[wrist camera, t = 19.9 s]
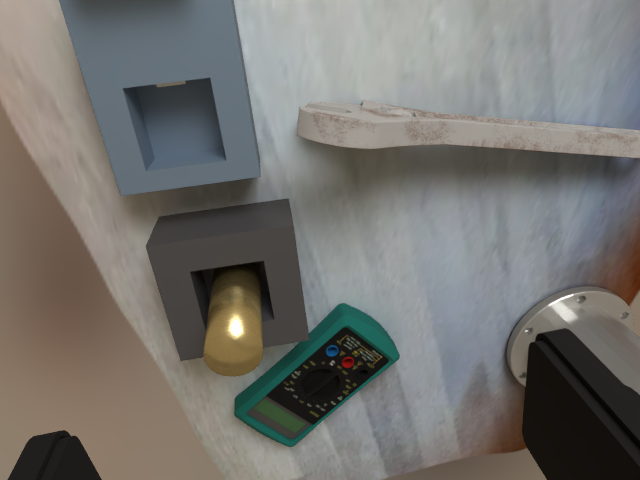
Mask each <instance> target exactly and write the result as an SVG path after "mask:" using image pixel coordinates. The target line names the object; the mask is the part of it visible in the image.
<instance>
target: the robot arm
mask: <svg viewBox="0 0 640 480" xmlns="http://www.w3.org/2000/svg"><path fill="white" fill-rule="evenodd" d="M633 329H634V319H633V315H632V312H631V310H630V308H629V306H628V305H627V304H626V303H625V301H623V300H622V299H621V298H620V297H618V296H617V295H616V294H614V293H612V292H611V291H609V290H607V289H603V288H599V287H589V286H584V287H576V288H571V289H567V290H564V291H561V292H559V293H556V294H554V295H552V296H549V297H548V298H546V299H545V300H543V301H541V302H540V303H538V304H537V305H536V306H534V307H533V308H532V309H531V310H530V311H528V312H527V313H526V315H525V316H524V317H523V318H522V319H521V320H520V321H519V323H518V324H517V326H516V327H515V329H514V330H513V332H512V335H511V337H510V339H509V342H508V347H507V362H508V366H509V369H510V370H511V372H512V373H513V375H514V376H515V378H516V379H517V380H518V381H519V383H520V384H522V385H523V386H524V387H525V399H524V412H523V425H522V434H523V438H524V441H525V444H526V446H527V448H528V450H529V451H530V453H531V454H532V456H533V458H534V459H535V461H536V462H537V464H538V466H539V467H540V469H541V471H542V472H543V474H544V475H545V477H546V478H547V480H640V337H639V336H638V335H636V334H635V333H634V332H633ZM8 480H102V479H101V478H100V476H99V474H98V472H97V471H96V469H95V467H94V465H93V463H92V462H91V460H90V458H89V456H88V454H87V453H86V451H85V449H84V447H83V445H82V444H81V442H80V440H79V439H78V437H76V436H70V434H69V433H68V432H67V431H65V430H63V431H57V432H53V433H48V434H43V435H38V436H33V437H32V438H31V439H30V440H29V441H28V442H27V444H26V445H25V448H24V449H23V451H22V453H21V455H20V457H19V459H18V461H17V463H16V465H15V467H14V469H13V471H12V473H11V474H10V476H9V478H8Z"/></svg>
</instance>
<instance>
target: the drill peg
mask: <svg viewBox="0 0 640 480" xmlns="http://www.w3.org/2000/svg"><path fill="white" fill-rule="evenodd" d="M262 357H263V341H262V315H261V290H260V267H259V263H258V261H257V262H251V263H244V264H237V265H231V266H224V267H217V268H214V274H213V282H212V290H211V298H210V306H209V314H208V322H207V330H206V338H205V346H204V360H205V363H206V364H207V366H208V367H209V368H210V369H211V370H213V371H214V372H216V373H218V374H220V375H224V376H240V375H244V374H247V373H249V372H251V371H252V370H254V369H255V368H256V367H257V366H258V365H259V364H260V362H261V360H262Z"/></svg>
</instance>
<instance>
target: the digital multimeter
mask: <svg viewBox="0 0 640 480" xmlns="http://www.w3.org/2000/svg"><path fill="white" fill-rule="evenodd" d="M338 331H339V332H338ZM322 345H323V346H322ZM321 346H322V347H321ZM314 352H315V353H314ZM313 353H314V354H313ZM399 357H400V355H399V353H398V351H397V348H396V346H395V344H394V342H393V341H392V339H391V338H390V336H389V335H388V333H387V332H386V331H385V330H384V328H383V327H382V326H381V325H380V324H379V323H378V322H377V321H375V320H374V319H373V318H372V317H370V316H369V315H367V314H365V313H363V312H362V311H360V310H358V309H356V308H353V307H351V306H349V305H347V304H344V303H343V304H339V305H338V306H337V307H336V308H335V309H334V310H333V311H332V312H331V313H330V314H329V315H328V316H327V317H326V318H325V319H324V320H323V321H322V322H321V323H320V324H319V325H318V326H317V327H316V328H315V329H314V330H313V331H312V332H311V333H309V340H306V341H301V342H300V343H299V344H298V345H297V346H296V347H295V348H294V349H293V350H291V351H290V352H289V353H288V354H287V355H286V356H285V357H283V358H282V359H281V360H280V361H279V362H278V363H277V364H276V365H274V366H273V367H272V368H271V369H270V370H269V371H268V372H266V373H265V374H264V375H263V376H262V377H260V378H259V379H258V380H257V381H255V382H254V383H253V384H252V385H250V386H249V387H248V388H247V389H246V390H244V391H243V392H242V393H241V394H239V395H238V396H237V397H236V398H235V416H236V417H237V418H239V419H240V420H241V421H243V422H244V423H246V424H247V425H249V426H250V427H252V428H253V429H255V430H256V431H258V432H259V433H261V434H263V435H265V436H266V437H269V438H271V439H273V440H275V441H277V442H279V443H281V444H284V445H286V446H289V447H293V446H295V445H296V444H297V443H298V442H299V441H300V440H302V439H303V438H304V437H305V436H306V435H307V434H308V433H309V432H310V431H312V430H313V429H314V428H315V427H316V426H317V425H318V424H319V423H321V422H322V421H323V420H324V419H325V418H326V417H328V416H329V415H330V414H331V413H332V412H334V411H335V410H336V409H337V408H338V407H340V406H341V405H342V404H343V403H344V402H345V401H347V400H348V399H349V398H350V397H352V396H353V395H354V394H355V393H357V392H358V391H359V390H360V389H361V388H363V387H364V386H365V385H366V384H368V383H369V382H370V381H371V380H373V379H374V378H375V377H376V376H378V375H379V374H380V373H382V372H383V371H384V370H386V369H387V368H388V367H389V366H391V365H392V364H393V363H395V362H396V361H397V360H398V359H399ZM305 360H306V361H305ZM304 361H305V362H304ZM297 367H298V368H297ZM296 368H297V369H296ZM288 375H289V376H288ZM287 376H288V377H287ZM340 376H341V377H340ZM280 382H281V383H280ZM279 383H280V384H279ZM278 384H279V385H278ZM271 390H272V391H271ZM270 391H271V392H270ZM304 397H305V398H304ZM324 400H325V401H324Z"/></svg>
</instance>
